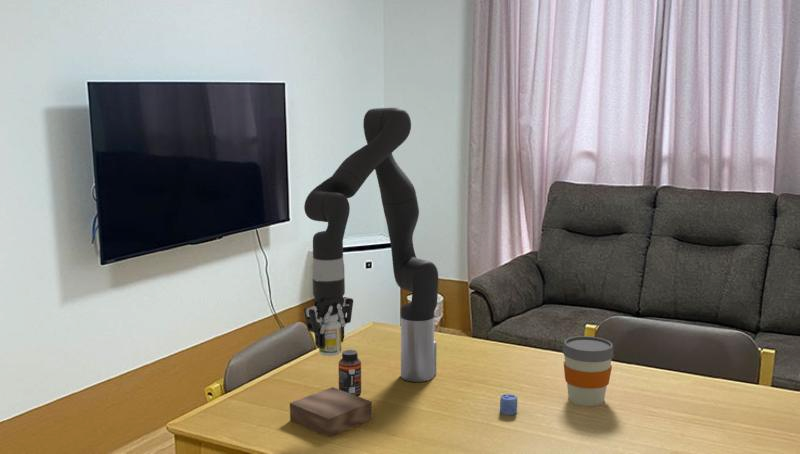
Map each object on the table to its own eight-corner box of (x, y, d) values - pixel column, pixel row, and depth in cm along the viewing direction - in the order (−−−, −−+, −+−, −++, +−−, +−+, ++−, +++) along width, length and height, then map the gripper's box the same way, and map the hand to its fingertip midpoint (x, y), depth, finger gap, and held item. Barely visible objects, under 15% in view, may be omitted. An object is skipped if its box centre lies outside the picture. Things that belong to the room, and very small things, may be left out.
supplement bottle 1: (330, 357, 195) (329, 318, 193) (314, 353, 198) (313, 314, 197) (346, 352, 199) (345, 313, 197) (330, 347, 202) (329, 309, 201)
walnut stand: (332, 403, 211) (332, 387, 211) (372, 419, 202) (371, 401, 201) (290, 420, 201) (289, 403, 200) (329, 437, 192) (328, 419, 191)
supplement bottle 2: (358, 398, 215) (357, 356, 213) (336, 396, 216) (335, 355, 214) (363, 389, 221) (363, 349, 219) (342, 388, 222) (341, 347, 220)
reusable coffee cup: (615, 394, 217) (618, 339, 214) (605, 412, 206) (608, 354, 203) (567, 387, 222) (569, 333, 219) (556, 404, 211) (557, 347, 208)
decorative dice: (516, 415, 204) (516, 400, 203) (499, 414, 204) (500, 399, 204) (517, 409, 208) (517, 394, 207) (501, 408, 208) (501, 393, 208)
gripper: (339, 268, 203) (341, 334, 206) (294, 278, 192) (296, 348, 196) (361, 273, 198) (362, 341, 201) (316, 284, 187) (317, 355, 191)
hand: (330, 344), depth 198 cm, fingers closed on supplement bottle 1, 5 cm apart
